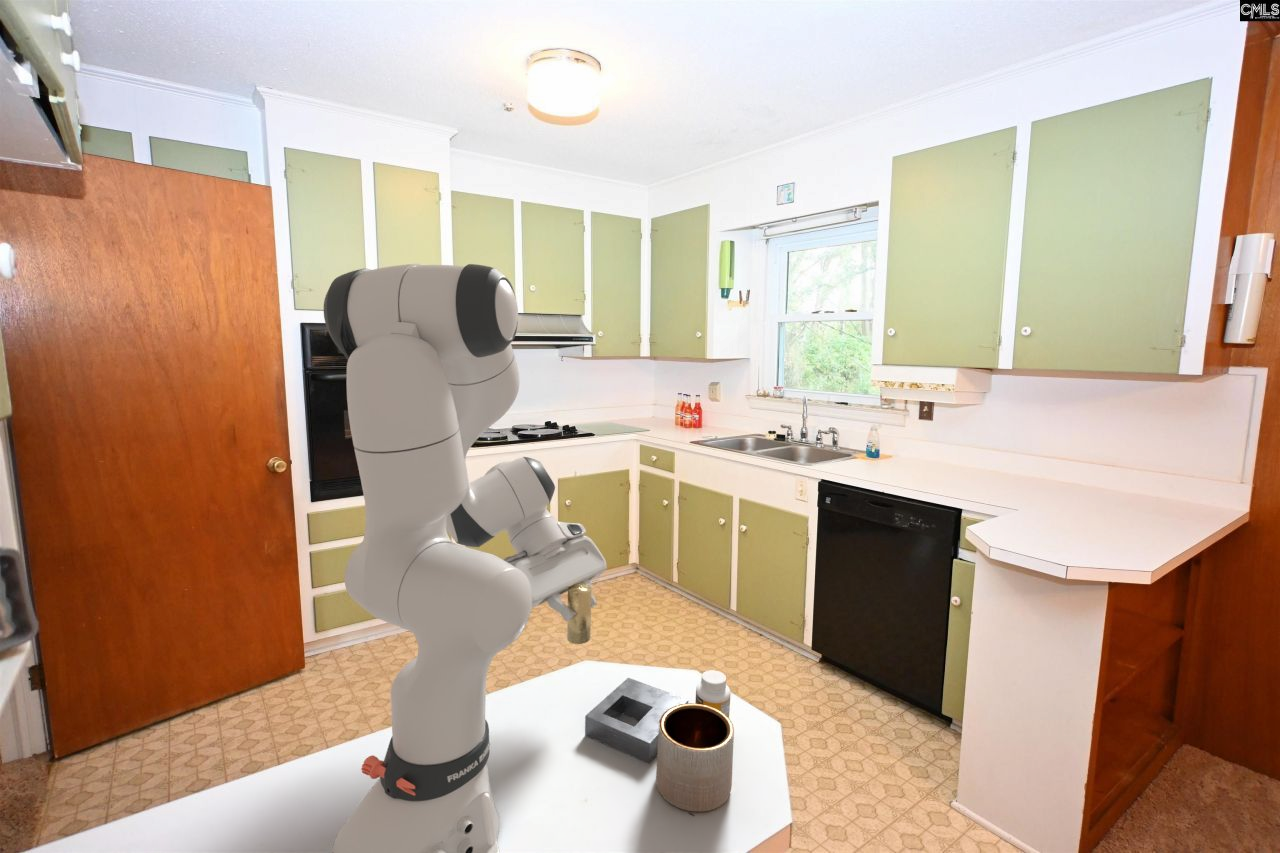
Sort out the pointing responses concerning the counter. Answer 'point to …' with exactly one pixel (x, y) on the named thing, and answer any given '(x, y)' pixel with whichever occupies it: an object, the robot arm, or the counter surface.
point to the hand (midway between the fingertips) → (582, 612)
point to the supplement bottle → (714, 691)
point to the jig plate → (637, 705)
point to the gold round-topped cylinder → (579, 614)
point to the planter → (695, 757)
